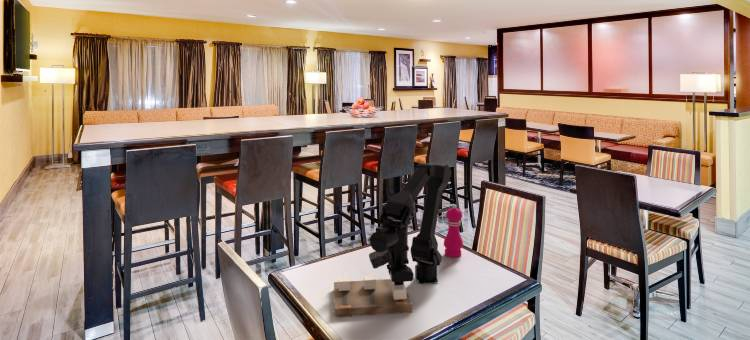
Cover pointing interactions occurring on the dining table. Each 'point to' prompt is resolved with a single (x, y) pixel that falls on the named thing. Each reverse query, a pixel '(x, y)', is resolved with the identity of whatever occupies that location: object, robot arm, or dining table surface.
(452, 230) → the pepper mill
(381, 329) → the dining table surface
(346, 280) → the tab
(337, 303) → the switch board
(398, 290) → the tab
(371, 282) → the tab
